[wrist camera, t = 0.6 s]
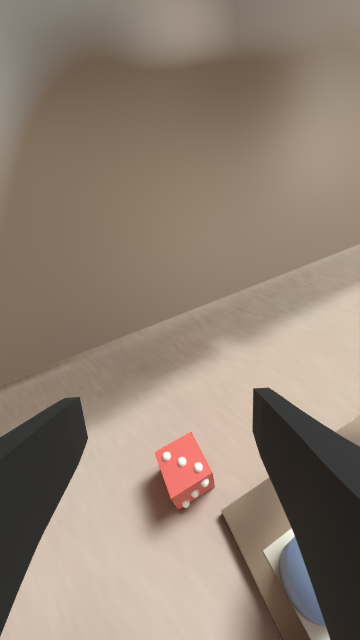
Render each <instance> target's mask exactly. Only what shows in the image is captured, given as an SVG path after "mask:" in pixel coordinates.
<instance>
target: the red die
mask: <svg viewBox="0 0 360 640" xmlns="http://www.w3.org/2000/svg"><path fill="white" fill-rule="evenodd" d="M155 455H156V458H157V461H158V464H159V467H160V469H161V472H162V475H163V478H164V481H165V484H166V487H167V489H168V492H169V495H170V498H171V500H172V501H173V503H174V504H175V506H176V507H177V509H178V510H180V509H181V508H183V507H184V508H187V507H189V505H190V502H192V501H193V500H195V499H196V498H198V497H200V496H201V495H203V494H204V493H206V492H207V491H209V490H210V489H212V488H213V487H215V485H214V479H213V473H212V471H211V469H210V467H209V465H208V463H207V461H206V459H205V457H204V455H203V454H202V452H201V450H200V448H199V446H198V444H197V442H196V440H195V438H194V436H193V434H192V432H190V433H188V434H186V435H185V436H183V437H181V438H179V439H177V440H176V441H174V442H172V443H170V444H169V445H167V446H165V447H163V448H162V449H160V450H158V451H156V452H155Z"/></svg>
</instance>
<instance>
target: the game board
mask: <svg viewBox="0 0 360 640" xmlns="http://www.w3.org/2000/svg"><path fill="white" fill-rule="evenodd" d="M336 433H338V434H339V435H341V436H342V437H344V438H346V439H347V440H349V441H351V442H353V443H354V444H356V445H358V446H360V416H358V417H357V418H355V419H354V420H352V421H351V422H350V423H348V424H347V425H345V426H344V427H342V428H341V429H339V430H338V431H336ZM222 514H223V516H224V519H225V521H226V523H227V525H228V527H229V529H230V531H231V533H232V535H233V537H234V539H235V541H236V543H237V545H238V547H239V550H240V552H241V554H242V556H243V558H244V560H245V562H246V564H247V566H248V568H249V570H250V572H251V574H252V576H253V579H254V581H255V583H256V585H257V587H258V589H259V591H260V593H261V595H262V597H263V599H264V601H265V603H266V605H267V608H268V610H269V612H270V614H271V616H272V618H273V620H274V622H275V624H276V626H277V628H278V630H279V632H280V634H281V636H282V639H283V640H330V637H329V634H328V631H327V628H325V627H322V626H320V625H317V624H314V623H312V622H310V621H308V620H307V619H305V618H304V617H303V616H302V615H301V614H300V613H299V612H298V611H297V610H296V609H295V608H294V606H293V605H292V604H291V602H290V600H289V599H288V597H287V595H286V593H285V591H284V588H283V585H282V582H281V578H280V572H279V560H280V555H281V552H282V550H283V548H284V547H285V545H286V544H288V543H289V542H290V541H291V540H292V539H293V538H294V537H295V536H294V533H293V531H292V528H291V526H290V523H289V521H288V518H287V516H286V514H285V512H284V509H283V507H282V505H281V503H280V500H279V498H278V496H277V493H276V491H275V489H274V487H273V484H272V482H271V480H270V478H268V479H267V480H265V481H264V482H262V483H261V484H259V485H258V486H257V487H255V488H254V489H252V490H251V491H249V492H248V493H246V494H245V495H243V496H242V497H241V498H239V499H238V500H236V501H235V502H233V503H232V504H230V505H229V506H227V507H226V508H225V509H223V510H222Z"/></svg>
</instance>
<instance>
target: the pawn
mask: <svg viewBox="0 0 360 640" xmlns="http://www.w3.org/2000/svg"><path fill="white" fill-rule="evenodd" d="M279 572H280V578H281V582H282V585H283V588H284V591H285V593H286V595H287V597H288V599H289V600H290V602H291V604H292V605H293V606H294V608H295V609H296V610H297V611H298V612H299V613H300V614H301V615H302V616H303V617H304V618H305V619H307V620H308V621H310V622H312V623H314V624H317V625H320V626H322V627H325V628H326V625H325V622H324V619H323V616H322V613H321V610H320V607H319V604H318V601H317V598H316V595H315V592H314V589H313V586H312V583H311V581H310V578H309V575H308V572H307V569H306V566H305V563H304V561H303V558H302V555H301V552H300V549H299V546H298V543H297V541H296V538H295V537H294V538H293V539H292V540H291V541H290V542H289V543H288V544H286V545H285V547H284V548H283V550H282V552H281V555H280V560H279Z"/></svg>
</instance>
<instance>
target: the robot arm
mask: <svg viewBox="0 0 360 640" xmlns="http://www.w3.org/2000/svg"><path fill="white" fill-rule="evenodd" d="M253 434H254V437H255V441H256V444H257V447H258V450H259V453H260V456H261V459H262V461H263V464H264V466H265V468H266V470H267V473H268V475H269V477H270V480H271V482H272V484H273V487H274V489H275V491H276V493H277V496H278V498H279V500H280V503H281V505H282V507H283V509H284V512H285V514H286V516H287V518H288V521H289V523H290V526H291V528H292V531H293V533H294V536H295V538H296V541H297V543H298V546H299V549H300V552H301V555H302V558H303V561H304V563H305V566H306V569H307V572H308V575H309V578H310V581H311V583H312V586H313V589H314V592H315V595H316V598H317V601H318V604H319V607H320V610H321V613H322V616H323V619H324V622H325V625H326V628H327V631H328V634H329V637H330V640H360V446H358V445H356V444H354V443H353V442H351V441H349V440H347V439H346V438H344V437H342V436H341V435H339V434H338V433H336V432H334V431H333V430H331V429H329V428H328V427H326V426H324V425H323V424H321V423H320V422H318V421H317V420H315V419H314V418H312V417H311V416H309V415H308V414H306V413H305V412H303V411H302V410H300V409H299V408H297V407H296V406H295V405H293V404H292V403H290V402H289V401H287V400H286V399H285V398H283V397H282V396H280V395H279V394H277V393H276V392H274V391H273V390H271V389H270V388H254V389H253ZM87 440H88V436H87V431H86V426H85V421H84V416H83V411H82V406H81V401H80V397H75V398H64V399H62V400H60V401H59V402H57V403H55V404H53V405H52V406H50V407H48V408H47V409H45V410H44V411H42V412H40V413H39V414H37V415H36V416H34V417H33V418H31V419H29V420H28V421H26V422H25V423H23V424H21V425H20V426H18V427H17V428H15V429H13V430H12V431H10V432H8V433H7V434H5V435H3V436H2V437H0V636H1V633H2V631H3V628H4V626H5V623H6V621H7V618H8V616H9V613H10V610H11V608H12V605H13V603H14V600H15V598H16V595H17V593H18V590H19V588H20V586H21V583H22V581H23V578H24V576H25V574H26V571H27V569H28V567H29V564H30V562H31V559H32V557H33V555H34V552H35V550H36V548H37V546H38V543H39V541H40V539H41V537H42V535H43V533H44V531H45V529H46V527H47V525H48V523H49V521H50V519H51V517H52V515H53V513H54V511H55V509H56V507H57V506H58V504H59V502H60V500H61V498H62V496H63V494H64V492H65V490H66V488H67V486H68V484H69V482H70V480H71V478H72V476H73V474H74V472H75V470H76V468H77V466H78V464H79V462H80V459H81V456H82V454H83V451H84V448H85V445H86V443H87Z"/></svg>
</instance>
